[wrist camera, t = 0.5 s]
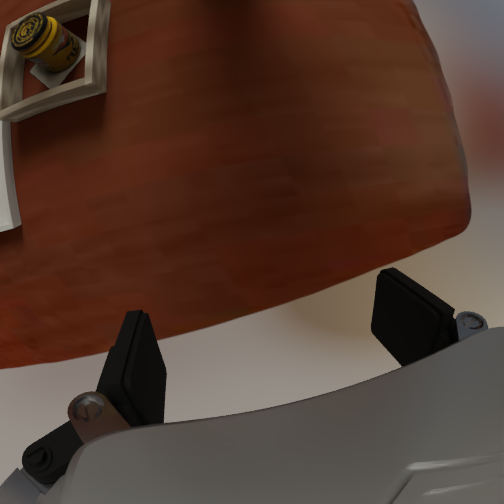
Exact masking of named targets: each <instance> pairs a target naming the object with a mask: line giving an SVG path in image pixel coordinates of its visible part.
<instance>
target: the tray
mask: <svg viewBox="0 0 504 504" xmlns="http://www.w3.org/2000/svg"><path fill="white" fill-rule="evenodd" d="M19 225H21V219H20V213H19V208H18V202H17V196H16V189H15V181H14V172H13V162H12V147H11V122H10V121H0V232H2V231H5V230H9V229H13V228H15V227H17V226H19Z"/></svg>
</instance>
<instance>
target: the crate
mask: <svg viewBox="0 0 504 504" xmlns="http://www.w3.org/2000/svg"><path fill="white" fill-rule="evenodd" d="M110 7H111V2H110V1H109V0H58V1H55V2H53V3H51V4H48V5H46V6H44V7H42V8H40V9H37V10H35V11H33V12H31V13H29V14H27V15H25V16H23V17H22V18H20V19H18V20H16V21H14V22H12V23H11V24H9V25H7V27H6V32H5V36H4V41H3V47H2V52H1V59H0V121H10V122H19V121H22V120H24V119H26V118H29V117H31V116H34V115H36V114H39V113H42V112H44V111H47V110H50V109H53V108H56V107H58V106H61V105H64V104H68V103H71V102H74V101H77V100H80V99H84V98H87V97H91V96H95V95H98V94H102V93H106V92H107V44H108V28H109V17H110ZM35 12H41V13H44V14H45V15H46V16H47V17H52V18H54V19H55V20H56V21H57V22H59V23H60V24H62V23H65V22H68V21H70V20H73V19H76V18H79V17H82V16H85V15H88V14H89V22H88V32H87V43H86V58H85V78H81V79H78V80H75V81H72V82H69V83H66V84H63V85H60V86H57V87H55V88H52V89H49V90H47V91H44V92H42V93H39V94H37V95H34V96H32V97H29V98H27V99H25V100H23V101H22V91H23V76H24V65H25V58H24V57H22V56H21V54H20V52H18V51H17V50H15V49H14V48H13V47H12V46H11V37H12V33H13V31H14V29H15V27H16V26H17V25H18V23H19V22H20V21H21V20H23V19H24V18H25V17H26V16H28V15H30V14H32V13H35Z"/></svg>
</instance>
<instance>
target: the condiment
mask: <svg viewBox="0 0 504 504" xmlns="http://www.w3.org/2000/svg"><path fill="white" fill-rule="evenodd" d="M11 46H12V47H13V48H14V49H15V50H17V51H18V52H20V54H21V56H22V57H24V58H26V59H28V60H30V61H32V62H34V63H36V64H35V65H34V66H33V68H32V69H31V71H30V73H31V74H33V75H34V76H35V77H36V78H37V79H39V80H40V81H41V82H42V83H44V84H45V85H46V86H47V87H48V88H49V89H52V88H55V87H57V86H59V85H60V84H61V83H62V81H63V80H64V79H65V78H66V76H67V75H68V74H69V73H70V72H71V70H72V69H73V68H74V67H75V66H76V65H77V63H78V62H79V61H80V60H81V59H82V58H83V57H84V55H85V54H86V42H84V41H83V40H82V39H80V38H79V37H77V36H76V35H74V34H73V33H71V32H70V31H68V30H67V29H66V28H64V27H63V26H62V25H61V24H60V23H59V22H57V21H56V20H55V19H54V18H52V17H47V16H46V15H45V14H44V13H41V12H35V13H32V14H30V15H28V16H26V17H25V18H24V19H23V20H21V21H20V22H19V23H18V25H17V26H16V27H15V29H14V31H13V33H12V37H11ZM57 74H58V75H57ZM54 75H55V76H54Z"/></svg>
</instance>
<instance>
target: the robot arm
mask: <svg viewBox="0 0 504 504" xmlns="http://www.w3.org/2000/svg"><path fill="white" fill-rule="evenodd" d="M454 311H455V309H454V308H453V307H451V306H450V305H448V304H447V303H446V302H444V301H443V300H441V299H440V298H438V297H437V296H436V295H434V294H433V293H431V292H430V291H428V290H427V289H425V288H424V287H423V286H421V285H420V284H418V283H416V282H415V281H414V280H412V279H411V278H409V277H408V276H406V275H405V274H403V273H401V272H400V271H399V270H397V269H396V268H388V269H384V270H381V271H380V274H378V276H377V282H376V291H375V300H374V308H373V315H372V322H371V331H372V333H373V335H374V336H375V337H376V338H377V339H378V340H379V341H380V342H381V344H382V345H383V346H384V347H385V348H386V349H387V350H388V351H389V352H390V353H391V355H392V356H393V357H394V358H395V359H396V360H397V361H398V362H399V364H401V366H402V367H401V368H398V369H396V370H393V371H391V372H388V373H385V374H383V375H380V376H377V377H375V378H372V379H369V380H366V381H363V382H361V383H358V384H355V385H352V386H349V387H345V388H342V389H339V390H336V391H333V392H329V393H326V394H322V395H319V396H315V397H312V398H308V399H304V400H300V401H296V402H292V403H288V404H284V405H279V406H275V407H270V408H266V409H261V410H255V411H250V412H245V413H239V414H232V415H226V416H219V417H212V418H205V419H196V420H188V421H180V422H171V423H164V407H165V391H166V377H167V376H166V375H167V373H166V367H165V364H164V361H163V359H162V355H161V352H160V349H159V346H158V343H157V340H156V337H155V334H154V331H153V327H152V324H151V321H150V317H149V315H148V313H144V312H143V311H142V310H135V311H128V312H127V313H126V316H125V319H124V321H123V324H122V327H121V329H120V332H119V335H118V338H117V340H116V343H115V346H112V347H111V348H110V350H109V353H108V356H107V359H106V362H105V365H104V367H103V370H102V373H101V376H100V379H99V383H98V386H97V389H96V392H92V391H91V392H85V393H83V394H80V395H78V396H77V397H76V398H74V399H73V400H72V402H71V403H70V405H69V407H68V417H69V419H70V420H69V421H68V422H66V423H65V424H63V425H62V426H60V427H58V428H57V429H55V430H53V431H52V432H50V433H49V434H47V435H45V436H44V437H42V438H41V439H39V440H37V441H36V442H34V443H32V444H31V445H30V446H28V447H27V448H26V450H25V451H24V453H23V456H22V464H23V468H22V469H21V470H19V469H18V468H16V469H15V471H14V472H13V473H12V474H11V475H10V476H9V477H8V478H7V479H6V480H5V481H4V483H3V484H2V485H1V486H0V504H504V327H496V328H490V329H488V325H487V322H486V320H485V319H484V318H483V317H482V316H481V315H479V314H477V313H474V312H469V311H468V312H467V311H465V312H461V313H459V314H458V315H457V316H456V319H454V318H453V314H454Z"/></svg>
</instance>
